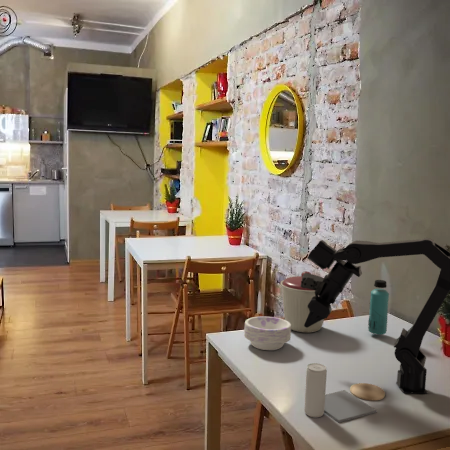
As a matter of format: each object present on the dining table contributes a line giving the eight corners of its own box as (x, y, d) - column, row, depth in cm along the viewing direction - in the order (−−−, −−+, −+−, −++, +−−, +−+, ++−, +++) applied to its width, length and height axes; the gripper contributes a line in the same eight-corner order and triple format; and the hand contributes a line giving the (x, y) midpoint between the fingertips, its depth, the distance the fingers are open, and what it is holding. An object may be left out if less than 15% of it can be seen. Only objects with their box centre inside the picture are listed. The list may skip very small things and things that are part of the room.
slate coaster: (344, 392, 141) (344, 390, 141) (376, 412, 131) (376, 410, 131) (308, 400, 136) (308, 398, 136) (338, 422, 125) (338, 420, 125)
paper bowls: (279, 336, 183) (280, 313, 182) (297, 352, 169) (298, 328, 167) (238, 339, 179) (238, 316, 178) (252, 356, 164) (253, 331, 163)
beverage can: (310, 406, 133) (313, 361, 131) (327, 413, 130) (330, 366, 128) (300, 413, 129) (303, 367, 127) (317, 420, 126) (320, 372, 124)
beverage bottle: (388, 334, 187) (392, 280, 184) (383, 340, 182) (387, 283, 179) (370, 331, 191) (374, 277, 188) (364, 336, 185) (368, 280, 182)
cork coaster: (379, 385, 146) (379, 383, 146) (389, 400, 137) (389, 398, 137) (346, 384, 146) (346, 382, 146) (355, 400, 137) (355, 398, 137)
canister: (339, 331, 189) (343, 274, 186) (301, 340, 179) (304, 279, 176) (305, 317, 204) (308, 264, 201) (268, 324, 194) (270, 268, 191)
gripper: (317, 255, 160) (291, 295, 165) (307, 272, 142) (278, 316, 147) (349, 276, 158) (321, 315, 163) (342, 295, 141) (311, 339, 146)
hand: (308, 320), depth 155 cm, fingers open, 9 cm apart
